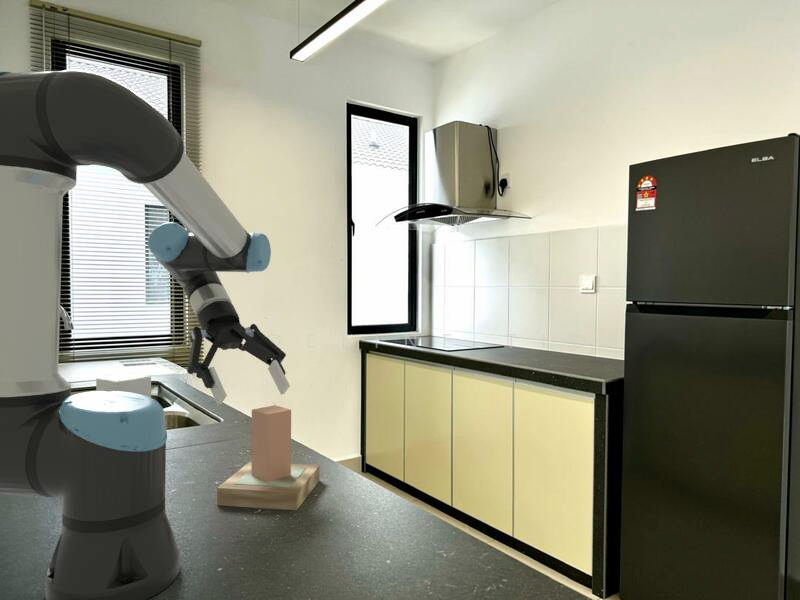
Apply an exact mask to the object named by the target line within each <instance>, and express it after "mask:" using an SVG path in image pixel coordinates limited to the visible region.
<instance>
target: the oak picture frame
mask: <svg viewBox="0 0 800 600" xmlns="http://www.w3.org/2000/svg"><path fill="white" fill-rule="evenodd" d="M320 467H321V466H320V464H306V463H304V464H301V463H291V475H290V476H287V477H283V478H280V479H277V480H274V481H270V482H265V481H263V480H261V479H259V478H256V477H254V476H252V460H250V461H249V462H247V463H246V464H245V465H243V467H241V468H239V470H238V471H236V472H235V473H234V474H233V475H231V476H230V477H229V478H228V479H226V480H225V481H224V482H223V483H221V484H220V485H219V486H218V487H216V489H217V491H216V501H217V502H216V503H217V504H216V505H217V506H222V507H224V506H225V507H238V508H240V507H241V508H256V509H267V510H268V509H269V510H270V509H271V510H283V511H298V509H299V508H300V507H301V505H303V503H304V502H305V500H306V499H307V498H308V496H310V494H311V492H312V491H313V490H314V488H316V486H317V485H318V483H319V482H320V475H321V474H320V472H321V471H320Z"/></svg>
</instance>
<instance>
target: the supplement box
mask: <svg viewBox="0 0 800 600" xmlns="http://www.w3.org/2000/svg"><path fill="white" fill-rule="evenodd" d="M95 383H96V384H95V386H96V388H95V391H106V392H111V391H123V392H131V393H137V394H141V395H145V396H148V397H151V398H152V376H149V375H148V376H147V375H141V374H135V373H123V374H116V375H109V376H108V375H107V376H101V377H97V378H96V381H95Z"/></svg>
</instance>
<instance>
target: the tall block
mask: <svg viewBox="0 0 800 600" xmlns="http://www.w3.org/2000/svg"><path fill="white" fill-rule="evenodd" d="M251 462H252V476H254V477H256V478H259V479H261V480H263V481H265V482H270V481H274V480H277V479H280V478H283V477H287V476H290V475H291V464H292V409H291V408H286V407H283V406H280V405H275V404H274V405H270V406H264V407H260V408H259V407H258V408H254V409H253V408H252V409H251Z"/></svg>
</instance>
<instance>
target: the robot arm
mask: <svg viewBox="0 0 800 600" xmlns="http://www.w3.org/2000/svg"><path fill="white" fill-rule="evenodd" d="M185 147H186V146H185V141H184V140H183V138H182V135H181V134H180V133H179V132H178V130H177V129H176V128H175V126H173V124H172V122H170V121H169V119H167V117H165V115H164V114H162V112H161V111H159V110H158V109H157V108H156V107H155V106H154V105H152V104H151V103H150V102H149V101H147V99H145V98H144V97H142V96H141V95H139V94H138V93H136V92H135V91H134V90H132V89H130V88H129V87H127V86H126V85H123V84H122V83H120V82H119V81H117V80H114V79H112V78H110V77H108V76H105V75H103V74H100V73H96V72H92V71H89V70H83V69H64V70H52V71H51V70H50V71H49V70H48V71H28V72H26V71H25V72H21V71H20V72H12V71H0V496H1V495H8V496H9V495H11V496H25V497H41V498H42V497H44V498H45V497H46V498H58V499H61V516H62V517H61V532H60V535H59V537H58V540H57V543H56V546H55V549H54V551H53V555H52V557H51V560H50V563H49V566H48V569H47V571H46V575H45V580H44V581H45V583H44V584H45V586H44V587H45V588H44V589H45V590H44V591H45V596H44V597H45V600H148V599H150V598H153V597H154V596H156V595H158V594H159V593H161V592H162V591H164V590H165V589H167V587H169V586H170V585H172V583H174V581H175V580H176V579H177V577H178V575H179V573H180V569H181V568H180V566H181V557H180V555H181V552H180V547H179V544H178V543H177V541H176V537H175V535H174V531H173V529H172V528H173V527H172V526H171V523H170V520H169V518H168V515H167V512H166V476H167V474H166V463H167V461H166V460H167V459H166V456H167V455H166V454H167V451H166V450H167V449H166V448H167V445H166V444H167V440H168V433H167V432H168V431H167V429H166V417H165V410H164V407H162V405H161V404H160V403H159V401H158V400H156V399H154V398H152V396H151V397H148V396H145V395H141V394H137V393H131V392H123V391H111V392H106V391H96V390H94V391H93V390H92V391H84V392H83V391H82V392H79V393H75V394H72V385H71V383H70V382H69V381H68V380H66V379H65V378H64V377H62V375H61V374H60V373H59V359H60V357H59V355H60V318H61V317H60V316H61V315H60V314H61V286H62V285H61V281H62V280H61V279H62V244H63V243H62V242H63V240H62V239H63V236H62V235H63V202H64V196H65V195H66V194H67V193H68V192H69V191H71V190H72V189H73V188H75V187H76V186H77V170H78V169H77V167H78V166H79V167H80V166H100V167H107V168H110V169H113V170H116V171H118V172H120V174H122V175H123V176H124V177H125V179H127V180H128V181H130V182H131V183H134V184H137V185H143V186H144V187H145V188H146V189H147V190H148V191H149V192H150V193H151V194H152V195H153V196H154V197H155V198H156V199H157V200H158V201H159V202H160V203H161V204H162V205H163V206H164V207H165V208H166V209H167V210H168V211H169V212H170V213H171V214H172V215H173V216H174V217H175V218H176V219H177V220H178V221H179V222H180V223H181V224H182V225H183V226H184V227H185V228H184V227H183V226H182V225H180V224H179V223H177V222H172V221H171V222H164V223H161V224H159V225H157V226H156V227H155V228H154V229H153V230H152V231H151V232H150V234H149V237H148V238H147V239H148V240H147V246H148V249H149V250H150V252H151V253H152V255H153V256H154V257H155V260H156V261H157V262H159V263H160V264H161V265H162V267H164V269H166V270H167V272H168V273H169V274H170V275H171V276H172V277H173V279H174V280H175V281H176V282H177V283H178V284H179V285H180V286H181V288H182V289H183V291H184V293H185V295H186V297H187V299H188V302H189V304H190V306H191V309H192V311H193V313H194V315H195V317H196V318H197V322H198V324H199V326H200V327H199V326H194V327H193V329H192V331H191V333H190V335H189V339H190V342H191V347H190V352H189V358H188V364H187V369H186V372H187V373H188V374H189V375H193V374H196V378H197V379H201V381H202V383H203V385H204V387H205V388H206V389H209V390H210V392H211V395H212V396H213V398H214V401H215V403H216V405H217V406H220V405H222V404H223V402H224V400H225V399H226V397H227V393H226V391H225V388H224V386H223V384H222V382H221V380H220V377H219V375H218V374H217V371H216V369H215V366H210V365H211V362H212V361H213V359H214V357H215V355H216V353H217V352H218V349H221V350H222V351H227V350H229V349H230V350H237V349H239V350H241V352H244V351H245V352H247V353H248V354H251V356H254V357H255V358H256V359H258V360H260V361H261V362H263V363H265V364H266V365H268V368H267V370H268V371H269V374H270V376H271V377H272V380H273V381H274V383H275V385H276V388H277V390H278V391H279V393H280V395H285V393H286V392H287V391H288V389H290V387H291V385H290V383H289V381H288V379H287V377H286V369H284V367H283V365H282V362H283V361H284V359H285V357H286V356H287V354H286V353H285V352H284V350H282V349H281V348H280V347H278V345H276V344H275V343H274V342H273V341H272V340H271V339H270V338H268V337H267V336H266V335H265V334H264V333H262V332H261V330H260V329H259V327H258V326H257V324H255V323H252V324H251V325H250V326H249V327H248V326H247V327H244V326H243V325H242V324H241V321H240V316H239V314H238V312H237V310H236V308H235V307H234V304H233V303H232V300H231V298H230V295H228V292H227V290H226V288H225V287H224V285H223V283H222V282H221V279H220V278H219V277H220V276H219V275H218V273H217V272H219V273H220V272H224V273H226V272H228V273H247V274H249V273H252V272H254V273H255V272H263V271H265V270H266V269H267V268H268V267H269V264H270V261H271V256H272V252H271V251H272V250H271V243H270V240H269V238H268V237H267V235H265V234H264V233H262V232H255V231H252V232H248V231H247V230H246V228H244V227H243V225H242V224H241V222H240V221H239V220H238V219H237V218H236V216H235V215H234V214H233V212H232V211H231V210H230V208H229V207H228V206H227V205H226V204H225V202H224V201H223V200H222V199H221V197H220V196H219V194H217V192H216V191H215V190H214V188H213V187H212V185H210V183H209V181H207V180H206V178H205V177H204V176H203V174H202V173H201V172H200V171H199V169H198V168H197V167H196V165H195V164H194V163H193V162H192V161H191V159H190V157H188V155H187V153H186V148H185ZM188 231H189V232H188ZM204 339H205V340H207V341H208V342H210V343H211V346H210V348H209V349H208V351H207V354H206V355H205V358H204V359H203V361H202V363H200V362H199V361H200V355H201V349H202V348H201V347H202V342H203V340H204ZM243 341H245V342H244V344H243Z"/></svg>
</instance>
